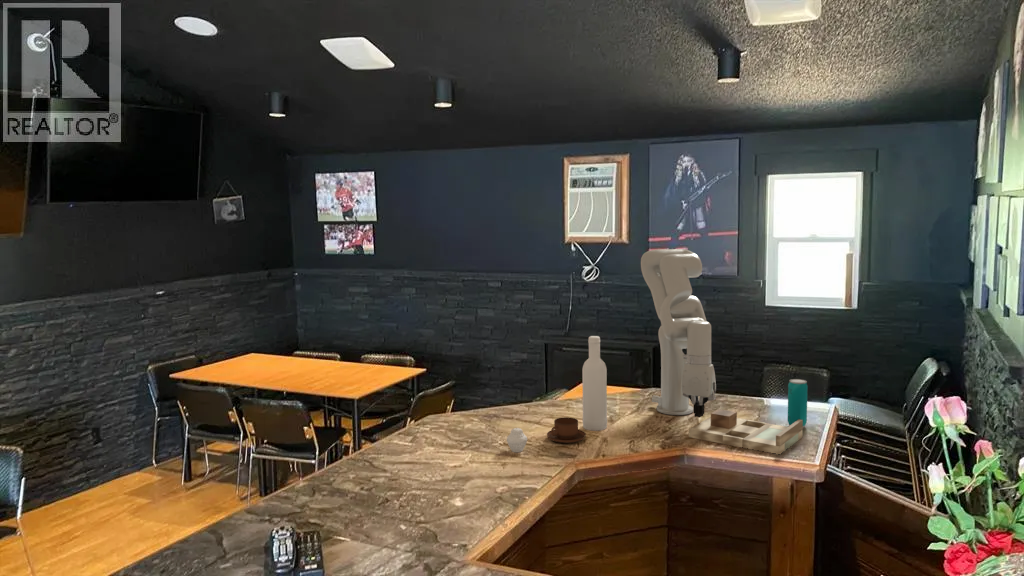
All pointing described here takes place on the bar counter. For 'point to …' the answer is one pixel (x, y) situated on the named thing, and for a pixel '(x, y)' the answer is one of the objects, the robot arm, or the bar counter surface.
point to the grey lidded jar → (516, 440)
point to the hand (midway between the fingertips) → (698, 416)
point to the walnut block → (723, 419)
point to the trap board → (750, 434)
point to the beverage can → (797, 401)
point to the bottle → (594, 388)
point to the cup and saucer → (566, 431)
